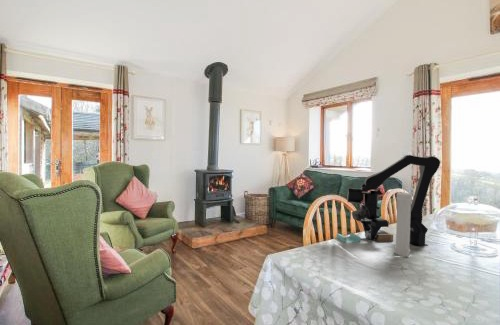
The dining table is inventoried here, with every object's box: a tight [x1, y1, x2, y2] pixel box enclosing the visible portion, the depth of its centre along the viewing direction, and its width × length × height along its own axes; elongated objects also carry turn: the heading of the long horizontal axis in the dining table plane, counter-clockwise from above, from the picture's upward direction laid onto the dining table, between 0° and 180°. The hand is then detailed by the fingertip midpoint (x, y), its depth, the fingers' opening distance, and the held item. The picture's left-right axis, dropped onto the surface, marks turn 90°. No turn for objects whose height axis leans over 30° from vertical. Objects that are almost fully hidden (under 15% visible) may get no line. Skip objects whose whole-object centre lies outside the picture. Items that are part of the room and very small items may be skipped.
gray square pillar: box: [394, 178, 413, 258], centre depth 113 cm, size 6×6×30 cm
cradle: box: [336, 232, 361, 243], centre depth 130 cm, size 7×8×2 cm
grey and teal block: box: [364, 229, 386, 241], centre depth 132 cm, size 8×4×4 cm, turn 100°
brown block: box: [373, 230, 394, 243], centre depth 132 cm, size 7×7×4 cm
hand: (369, 237), depth 131 cm, fingers closed on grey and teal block, 4 cm apart
